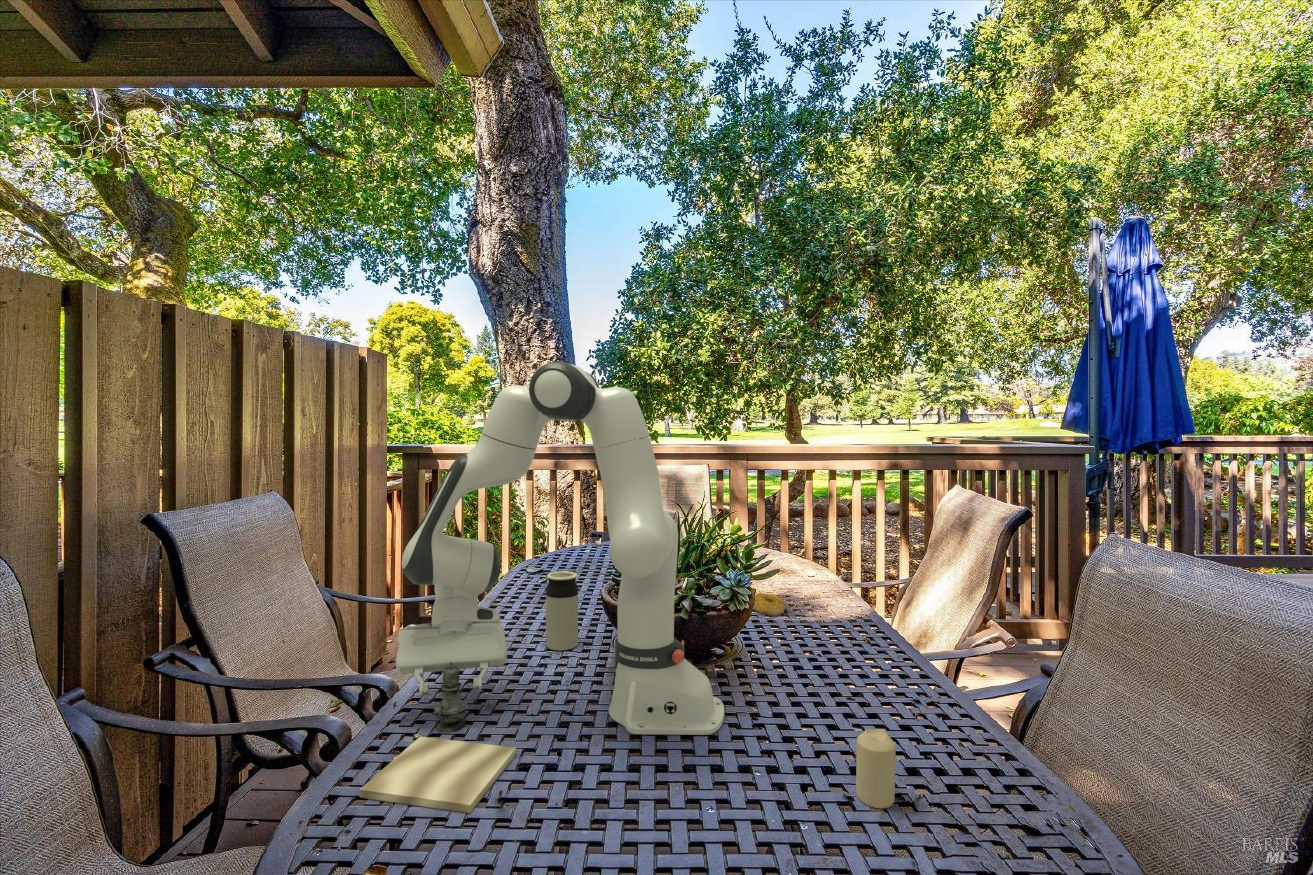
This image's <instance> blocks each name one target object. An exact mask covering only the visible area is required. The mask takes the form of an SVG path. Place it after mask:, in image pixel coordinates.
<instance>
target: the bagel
mask: <svg viewBox="0 0 1313 875" xmlns="http://www.w3.org/2000/svg"><path fill="white" fill-rule="evenodd" d="M755 595H756V597H755V610H754V611H755V612H756V613H758V614H762V615H768V616H774V617H777V616H780V615H782V614H784V613H785V609H786V606H787V604H786V602H784V600H783V599H782V597H781V596H778V595H775V594H768V593H761V592H758V593H756V594H755Z"/></svg>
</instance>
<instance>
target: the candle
mask: <svg viewBox="0 0 1313 875" xmlns="http://www.w3.org/2000/svg"><path fill="white" fill-rule="evenodd" d="M855 765H856V769H855V770H856V771H855V773H856V775H855V776H856V777H855V780H856V781H855V793H856V794H855V795H856V797H857V799H858V798H859V799H858V800H859V801H860V802H861V801H862V802H863V803H862V802H861V803H862V804H864V803H865V804H864V805H865V806H867V807H871V808H874V809H887V808H891V807H892V806H893V805H894V804H893V803H895V800H896V799H895V798H896V797H895V795H896V794H895V792H896V791H895V790H896V789H895V788H896V743H895V742H894V740H893V739H892V738H891V736H889V735H888V733H887V732H886V731H885V730H884V731H883V730H881V729H879V728H876V729H872V728H866V729H865V730H864V731H863V732H862V733H861V734H860V735H858V736H857V737H856V764H855ZM891 805H892V806H891ZM890 806H891V807H890Z"/></svg>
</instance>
